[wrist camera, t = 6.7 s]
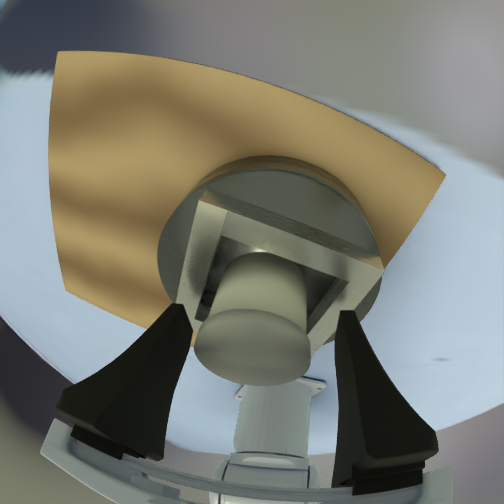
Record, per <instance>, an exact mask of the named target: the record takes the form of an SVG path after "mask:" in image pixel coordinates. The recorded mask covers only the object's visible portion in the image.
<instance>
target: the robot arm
mask: <svg viewBox="0 0 504 504" xmlns="http://www.w3.org/2000/svg"><path fill="white" fill-rule="evenodd" d="M192 336H193V328H192V326H191V323H190V321H189V318H188V315H187V313H186V310H185V307H184V305H183V304H178V303H171V305H170V306H169V307H168V308H167V309H166V310H165V311H164V312H163V313H162V314H161V315H160V316H159V317H158V318H157V319H156V321H155V322H154V323H153V324H152V325H151V326H150V327H149V328H148V329H147V330H146V331H145V332H144V333H143V334H142V335H141V336H140V337H139V338H138V339H137V340H136V341H135V342H134V343H133V344H132V345H131V346H130V347H129V348H128V349H127V350H126V351H124V352H123V353H122V354H121V355H120V356H118V357H117V358H116V359H115V360H113V361H112V362H111V363H109V364H108V365H106V366H105V367H104V368H102V369H101V370H99V371H98V372H96V373H95V374H93V375H91V376H90V377H88V378H86V379H84V380H82V381H80V382H78V383H76V384H74V385H72V386H70V387H68V388H65V389H64V390H63V392H62V394H61V396H60V398H59V400H58V402H57V404H56V406H55V409H56V411H57V412H59V413H60V414H61V415H62V416H64V417H65V418H66V419H68V420H69V421H70V422H72V423H73V424H75V425H74V428H71V427H70V426H68V425H66V424H64V423H63V422H61V421H59V420H58V419H56V418H55V419H54V420H53V423H52V425H51V427H50V429H49V432H48V434H47V436H46V439H45V441H44V444H43V446H42V448H41V451H40V453H41V454H42V455H43V456H45V457H46V458H48V459H49V460H50V461H52V462H53V463H54V464H56V465H57V466H59V467H60V468H62V469H63V470H64V471H66V472H67V473H69V474H70V475H71V476H73V477H74V478H76V479H78V480H79V481H80V482H82V483H83V484H85V485H86V486H88V487H89V488H91V489H93V490H94V491H96V492H98V493H99V494H101V495H103V496H104V497H106V498H108V499H110V500H112V501H113V502H115V503H117V504H202V503H198V502H193V501H189V500H186V499H181V498H179V495H180V489H177V488H173V487H170V486H167V485H164V484H161V483H158V482H155V481H152V480H150V479H149V478H148V476H147V474H148V475H151V476H154V477H157V478H160V479H163V480H166V481H169V482H173V483H176V484H180V485H184V486H187V487H191V488H196V489H200V490H204V491H209V499H210V504H317V503H318V502H322V503H320V504H452V469H451V466H448V467H445V468H441V469H438V470H434V471H430V472H427V473H424V474H423V473H422V469H423V468H425V460H427V459H429V458H430V457H432V456H434V455H435V454H437V452H438V451H439V449H438V441H437V437H436V433H435V431H434V430H433V429H432V428H431V427H430V426H429V425H428V424H427V423H426V422H425V421H424V420H423V419H422V418H421V417H420V416H419V415H418V414H417V413H416V411H415V410H414V409H413V408H412V407H411V406H410V405H409V403H408V402H407V401H406V400H405V398H404V397H403V396H402V395H401V394H400V392H399V391H398V389H397V388H396V387H395V385H394V384H393V382H392V381H391V380H390V378H389V377H388V375H387V373H386V372H385V370H384V369H383V367H382V365H381V364H380V362H379V360H378V359H377V357H376V355H375V353H374V351H373V349H372V347H371V345H370V343H369V342H368V340H367V338H366V335H365V333H364V331H363V329H362V327H361V324H360V322H359V320H358V317H357V315H356V312H355V311H354V310H340V314H339V319H338V324H337V329H336V334H335V367H336V377H337V388H338V401H339V414H338V433H337V445H336V456H335V464H334V471H333V478H332V487H331V488H320V472H319V470H318V469H317V468H316V467H315V465H309V466H308V464H309V459H308V458H307V451H308V438H309V424H310V407H311V398H312V397H314V396H315V395H316V394H318V393H319V392H320V391H322V390H323V389H324V388H326V383H325V382H321V381H316V380H311V379H307V378H303V377H300V378H298V379H296V380H294V381H292V382H289V383H286V384H282V385H276V386H251V385H245V384H244V385H243V386H242V387H241V389H240V390H239V391H238V392H237V393H236V395H235V396H234V399H235V400H237V401H241V404H240V409H239V414H238V419H237V424H236V429H235V434H234V441H233V443H234V448H235V450H236V452H235V453H231V456H230V458H225V459H224V460H223V461H221V462H219V463H218V464H217V466H216V468H215V470H214V473H213V476H212V479H210V478H205V477H201V476H196V475H192V474H188V473H184V472H180V471H176V470H173V469H169V468H166V467H162V466H159V465H156V464H153V463H150V462H147V461H144V460H141V459H139V457H141V458H144V459H145V458H149V459H152V460H155V461H160V460H162V459H163V457H164V445H165V437H166V430H167V423H168V418H169V412H170V407H171V403H172V399H173V394H174V391H175V388H176V385H177V382H178V379H179V376H180V374H181V371H182V368H183V366H184V363H185V360H186V357H187V355H188V352H189V349H190V345H191V340H192Z"/></svg>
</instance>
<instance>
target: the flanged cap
mask: <svg viewBox="0 0 504 504" xmlns="http://www.w3.org/2000/svg"><path fill="white" fill-rule="evenodd" d="M306 318H307V283H306V279H305V276H304V274H303V272H302V271H301V270H300V268H299V267H298V266H297V265H296V264H295V263H293V262H292V261H290V260H288V259H286V258H283V257H280V256H277V255H275V254H272V253H269V252H252V253H247V254H244V255H241V256H239V257H237V258H235V259H234V260H232V261H231V262H230V263H229V264H228V265H227V267H226V268H225V270H224V272H223V275H222V278H221V281H220V284H219V287H218V290H217V293H216V295H215V298H214V301H213V304H212V307H211V310H210V313H209V316H208V318H207V319H206V320H205V321H204V322H203V323H202V324H201V326H200V328H199V331H198V334H197V337H196V339H195V343H194V351H195V354H196V356H197V358H198V360H199V361H200V362H201V363H202V364H203V365H204V366H205V367H206V368H207V369H208V370H210V371H211V372H213V373H214V374H216V375H218V376H220V377H222V378H224V379H227V380H230V381H233V382H236V383H240V384H245V385H251V386H276V385H282V384H286V383H289V382H292V381H294V380H296V379H298V378H300V377H301V376H302V375H304V374H305V373H306V371H307V370H308V368H309V366H310V360H311V344H310V340H309V338H308V336H307V334H306Z"/></svg>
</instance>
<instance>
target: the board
mask: <svg viewBox="0 0 504 504" xmlns="http://www.w3.org/2000/svg"><path fill="white" fill-rule="evenodd" d="M263 155H274V156H286V157H291V158H296V159H300V160H303V161H306V162H309V163H312V164H314V165H316V166H318V167H320V168H322V169H324V170H326V171H328V172H329V173H331V174H332V175H334V176H335V177H336V178H338V179H339V180H340V181H341V182H342V183H344V184H345V185H346V186H347V187H348V188H349V189H350V190H351V192H352V193H353V194H354V195H355V197H356V198H357V199H358V201H359V203H360V204H361V206H362V208H363V210H364V212H365V214H366V217H367V219H368V221H369V224H370V226H371V229H372V232H373V234H374V237H375V239H376V242H377V245H378V248H379V251H380V255H381V261H382V264H383V267H384V268H385V267H386V266H387V264H388V263H389V262H390V260H391V259H392V258H393V256H394V255H395V254H396V252H397V251H398V249H399V248H400V247H401V245H402V244H403V242H404V241H405V240H406V238H407V237H408V235H409V234H410V232H411V231H412V229H413V228H414V226H415V225H416V223H417V222H418V220H419V219H420V217H421V216H422V214H423V213H424V211H425V209H426V208H427V206H428V205H429V203H430V201H431V200H432V198H433V197H434V195H435V193H436V192H437V190H438V188H439V187H440V185H441V183H442V181H443V180H444V178H445V176H446V174H445V173H444V172H442V171H441V170H440V169H439V168H437V167H436V166H434V165H433V164H432V163H430V162H429V161H427V160H426V159H424V158H423V157H421V156H419V155H418V154H416V153H415V152H413V151H412V150H410V149H408V148H407V147H405V146H404V145H402V144H400V143H399V142H397V141H395V140H393V139H392V138H390V137H388V136H386V135H385V134H383V133H381V132H379V131H377V130H376V129H374V128H372V127H370V126H368V125H366V124H364V123H362V122H360V121H358V120H356V119H354V118H352V117H350V116H348V115H346V114H344V113H342V112H340V111H338V110H336V109H333V108H331V107H329V106H327V105H324V104H322V103H320V102H317V101H315V100H313V99H310V98H308V97H305V96H303V95H300V94H298V93H295V92H292V91H290V90H287V89H284V88H282V87H279V86H276V85H273V84H270V83H267V82H264V81H261V80H258V79H255V78H251V77H248V76H245V75H241V74H238V73H234V72H230V71H227V70H223V69H219V68H215V67H211V66H206V65H202V64H197V63H193V62H187V61H182V60H177V59H171V58H165V57H159V56H151V55H144V54H135V53H124V52H110V51H60V52H58V55H57V60H56V66H55V72H54V79H53V86H52V95H51V105H50V117H49V142H48V162H49V186H50V200H51V210H52V219H53V227H54V234H55V241H56V247H57V253H58V258H59V263H60V268H61V273H62V277H63V282H64V286H65V290H66V291H68V292H69V293H71V294H73V295H75V296H77V297H79V298H81V299H83V300H85V301H87V302H89V303H91V304H93V305H95V306H97V307H99V308H101V309H103V310H105V311H107V312H109V313H112V314H114V315H116V316H118V317H120V318H123V319H125V320H127V321H129V322H132V323H134V324H136V325H139V326H141V327H143V328H146V329H148V328H149V327H150V326H151V325H152V324H153V323H154V322H155V321H156V319H157V318H158V317H159V316H160V315H161V314H162V313H163V312H164V311H165V310H166V309H167V308H168V307H169V306H170V305H171V303H173V302H172V301H171V299H170V298H169V296H168V294H167V292H166V291H165V288H164V286H163V284H162V281H161V278H160V275H159V271H158V264H157V249H158V243H159V239H160V235H161V233H162V230H163V228H164V226H165V224H166V222H167V221H168V219H169V218H170V216H171V215H172V213H173V212H174V211H175V209H176V208H177V207H178V206H179V204H180V203H181V202H182V201H183V199H184V198H185V197H186V196H187V195H188V193H189V192H190V191H191V190H192V188H193V187H194V186H195V185H196V184H197V183H198V182H199V181H200V180H201V179H202V178H204V177H205V176H206V175H208V174H209V173H210V172H211V171H213V170H215V169H217V168H219V167H220V166H222V165H224V164H227V163H230V162H232V161H235V160H238V159H242V158H247V157H251V156H263ZM197 334H198V333H197V332H194V331H193V336H192V340H191V345H190V346H192V347H194V343H195V339H196V337H197Z"/></svg>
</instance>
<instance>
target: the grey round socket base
mask: <svg viewBox="0 0 504 504" xmlns="http://www.w3.org/2000/svg"><path fill="white" fill-rule="evenodd" d="M252 252H269V253H272V254H275V255H277V256H280V257H283V258H286V259H288V260H290V261H292V262H293V263H295V264H296V265H297V266H298V267H299V268H300V270H301V271H302V272H303V274H304V276H305V279H306V283H307V318H306V334H307V336H308V338H309V340H310V344H311V356H312V355H313V354H314V353H315V352H316V351H317V350H318V349H319V348H320V347H321V346H322V345H324V344H326V343H329V342H331V341H333V340H335V334H336V329H337V324H338V319H339V314H340V310H354V311H355V312H356V315H357V317H358V320H359V322H360V321H361V320H362V319H363V318H364V317H365V316H366V314H367V313H368V312H369V311H370V309H371V307H372V306H373V304H374V302H375V300H376V298H377V295H378V293H379V290H380V285H381V280H382V274H383V273H384V272H385V270H384V267H383V264H382V261H381V255H380V251H379V248H378V245H377V242H376V239H375V237H374V234H373V232H372V229H371V226H370V224H369V221H368V219H367V217H366V214H365V212H364V210H363V208H362V206H361V204H360V203H359V201H358V199H357V198H356V197H355V195H354V194H353V193H352V192H351V190H350V189H349V188H348V187H347V186H346V185H345V184H344V183H342V182H341V181H340V180H339V179H338V178H336V177H335V176H334V175H332V174H331V173H329V172H328V171H326V170H324V169H322V168H320V167H318V166H316V165H314V164H312V163H309V162H306V161H303V160H300V159H296V158H291V157H286V156H274V155H263V156H251V157H247V158H242V159H238V160H235V161H232V162H230V163H227V164H224V165H222V166H220V167H219V168H217V169H215V170H213V171H211V172H210V173H209V174H208V175H206V176H205V177H204V178H202V179H201V180H200V181H199V182H198V183H197V184H196V185H195V186H194V187H193V188H192V190H191V191H190V192H189V193H188V195H187V196H186V197H185V198H184V199H183V201H182V202H181V203H180V204H179V206H178V207H177V208H176V209H175V211H174V212H173V213H172V215H171V216H170V218H169V219H168V221H167V222H166V224H165V226H164V228H163V230H162V233H161V235H160V239H159V243H158V249H157V264H158V271H159V275H160V278H161V281H162V284H163V286H164V288H165V291H166V292H167V294H168V296H169V298H170V299H171V301H172V302H173V303H178V304H183V305H184V307H185V310H186V313H187V315H188V318H189V321H190V323H191V326H192V328H193V331H194V332H197V333H198V331H199V328H200V326H201V324H202V323H203V322H204V321H205V320H206V319H207V318H208V316H209V313H210V310H211V307H212V304H213V301H214V298H215V295H216V293H217V290H218V287H219V284H220V281H221V278H222V275H223V272H224V270H225V268H226V267H227V265H228V264H229V263H230V262H231V261H232V260H234V259H235V258H237V257H239V256H241V255H244V254H247V253H252Z"/></svg>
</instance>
